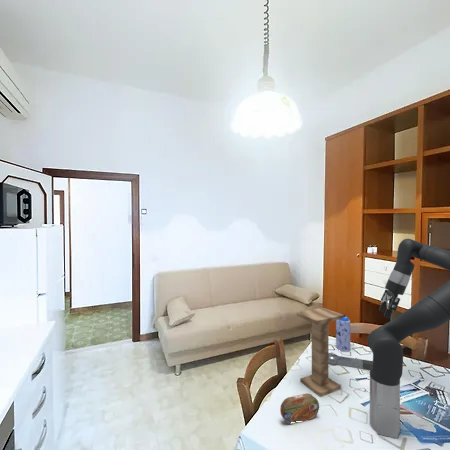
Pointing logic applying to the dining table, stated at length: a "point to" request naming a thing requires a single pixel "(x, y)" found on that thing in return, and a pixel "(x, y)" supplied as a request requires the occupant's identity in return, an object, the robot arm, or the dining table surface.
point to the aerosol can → (343, 334)
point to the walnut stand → (320, 350)
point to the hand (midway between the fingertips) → (383, 314)
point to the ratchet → (349, 362)
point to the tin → (299, 408)
